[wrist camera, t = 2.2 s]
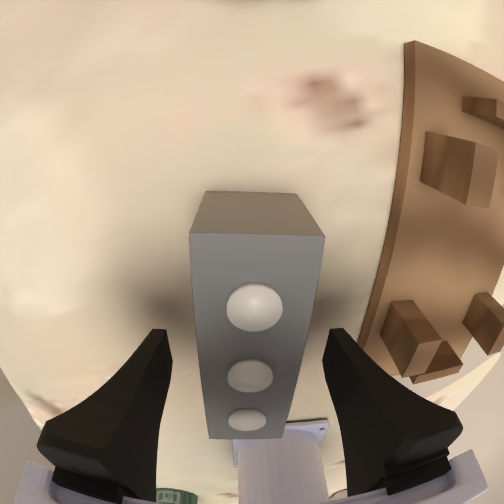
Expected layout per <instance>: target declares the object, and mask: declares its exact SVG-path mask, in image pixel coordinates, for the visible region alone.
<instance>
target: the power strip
mask: <svg viewBox="0 0 504 504" xmlns="http://www.w3.org/2000/svg"><path fill="white" fill-rule="evenodd" d="M189 241H190V261H191V277H192V292H193V305H194V317H195V328H196V338H197V348H198V358H199V367H200V375H201V384H202V392H203V399H204V407H205V414H206V421H207V427H208V434H209V439H278V438H282V436H283V432H284V429H285V425H286V422H287V418H288V414H289V410H290V407H291V403H292V399H293V395H294V391H295V387H296V383H297V379H298V375H299V370H300V366H301V362H302V357H303V353H304V348H305V344H306V339H307V335H308V330H309V325H310V320H311V315H312V310H313V305H314V300H315V295H316V289H317V284H318V278H319V272H320V266H321V260H322V254H323V248H324V242H325V235H324V234H323V232H322V231H321V229H320V228H319V226H318V225H317V223H316V222H315V220H314V219H313V217H312V216H311V214H310V213H309V211H308V210H307V208H306V207H305V206H304V204H303V203H302V201H301V200H300V198H299V197H298V195H297V194H286V193H263V192H229V191H206V193H205V195H204V198H203V200H202V202H201V205H200V207H199V210H198V212H197V215H196V217H195V220H194V222H193V225H192V227H191V230H190V232H189Z"/></svg>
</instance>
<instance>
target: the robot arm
mask: <svg viewBox="0 0 504 504" xmlns="http://www.w3.org/2000/svg"><path fill="white" fill-rule="evenodd" d="M322 362H323V368H324V374H325V379H326V382H327V386H328V389H329V392H330V395H331V398H332V402H333V405H334V408H335V411H336V414H337V417H338V421H339V425H340V431H341V437H342V442H343V450H344V457H345V466H346V478H347V497H346V498H341V499H336V500H330V501H329V496H328V490H327V485H326V480H325V475H324V470H323V465H322V460H321V455H320V450H319V446H320V444H321V442H322V440H323V437H324V435H325V433H326V431H327V429H328V427H329V421H328V420H318V421H308V422H297V423H286V425H285V429H284V432H283V436H282V438H278V439H233V455H234V467H235V468H238V492H239V504H466V503H467V502H469V501H471V500H472V499H474V498H476V497H477V496H479V495H480V494H482V493H483V492H485V491H486V490H488V485H487V482H486V480H485V477H484V475H483V473H482V470H481V468H480V466H479V464H478V461H477V459H476V457H475V454H474V452H473V450H469V451H467V452H465V453H462V454H460V455H458V456H456V457H454V458H453V459H451V460H449V461H448V459H447V456H448V455H449V451H448V447H449V445H451V444H452V443H453V442H454V440H456V438H457V437H458V436H459V435H460V434H461V432H462V430H463V426H462V424H461V422H460V420H459V418H458V416H457V414H456V413H455V412H454V411H451V410H449V409H446V408H444V407H441V406H439V405H436V404H434V403H432V402H430V401H428V400H426V399H424V398H423V397H420V396H419V395H417V394H416V393H414V392H412V391H411V390H409V389H408V388H406V387H405V386H403V385H402V384H401V383H399V382H398V381H397V380H395V379H394V378H393V377H391V376H390V375H389V374H388V373H387V372H385V371H384V370H383V369H382V368H381V367H380V366H379V365H378V364H377V363H376V362H374V361H373V360H372V359H371V358H370V357H369V356H368V355H367V354H366V353H365V351H364V350H363V349H362V348H361V347H360V346H359V345H358V344H357V343H356V342H355V341H354V340H353V339H352V337H351V336H350V335H349V334H348V333H347V332H346V331H345V330H344V329H343V328H336V329H330V331H329V335H328V339H327V343H326V347H325V351H324V355H323V359H322ZM172 363H173V360H172V356H171V351H170V346H169V341H168V336H167V331H166V330H165V329H152V330H151V331H150V333H149V334H148V335H147V337H146V338H145V339H144V341H143V342H142V343H141V344H140V346H139V347H138V348H137V349H136V351H135V352H134V353H133V354H132V356H131V357H130V358H129V359H128V360H127V361H126V363H125V364H124V365H123V366H122V367H121V368H120V369H119V370H118V371H117V372H116V373H115V374H114V375H113V376H112V377H111V378H110V379H109V380H108V381H107V382H106V383H105V384H104V385H103V386H102V387H101V388H99V389H98V390H97V391H96V392H94V393H93V394H92V395H91V396H89V397H88V398H87V399H85V400H84V401H82V402H81V403H79V404H78V405H76V406H75V407H73V408H71V409H70V410H68V411H66V412H64V413H63V414H61V415H58V416H56V417H54V418H52V419H50V420H48V421H46V423H45V425H44V427H43V429H42V432H41V435H40V438H39V440H38V443H37V448H38V450H39V451H40V453H41V454H42V455H43V456H44V457H46V458H47V459H48V460H49V461H50V462H51V463H52V464H53V465H55V466H56V467H55V471H54V472H53V471H52V470H50V469H48V468H46V467H43V466H41V465H39V464H36V463H34V462H32V461H29V460H28V461H27V463H26V466H25V469H24V472H23V475H22V478H21V481H20V484H19V488H18V491H17V495H16V498H15V501H14V503H15V504H163V503H156V464H157V449H158V438H159V428H160V423H161V418H162V414H163V410H164V405H165V401H166V397H167V393H168V389H169V385H170V380H171V372H172Z"/></svg>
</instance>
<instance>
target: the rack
mask: <svg viewBox="0 0 504 504" xmlns="http://www.w3.org/2000/svg"><path fill="white" fill-rule="evenodd" d="M503 265H504V82H503V81H501V80H499V79H498V78H496V77H494V76H492V75H491V74H489V73H487V72H485V71H483V70H481V69H480V68H478V67H476V66H474V65H472V64H470V63H468V62H466V61H464V60H461V59H459V58H457V57H455V56H453V55H450V54H448V53H446V52H444V51H441V50H439V49H436V48H434V47H431V46H429V45H426V44H424V43H421V42H418V41H415V40H414V41H411V42H408V43H405V44H404V102H403V118H402V131H401V142H400V151H399V160H398V168H397V175H396V182H395V189H394V195H393V202H392V207H391V213H390V218H389V224H388V229H387V234H386V239H385V243H384V248H383V252H382V257H381V261H380V265H379V269H378V274H377V278H376V281H375V285H374V289H373V293H372V296H371V300H370V304H369V307H368V311H367V314H366V317H365V321H364V324H363V327H362V330H361V333H360V337H359V340H358V343H357V344H358V345H359V346H360V347H361V348H362V349H363V350H364V351H365V353H366V354H367V355H368V356H369V357H370V358H371V359H372V360H373V361H374V362H376V363H377V364H378V365H379V366H380V367H381V368H382V369H383V370H384V371H385V372H387V373H388V374H389V375H390V376H396V375H401V377H402V378H404V377H410V379H411V381H412V383H413V384H417V383H421V382H425V381H429V380H433V379H437V378H441V377H444V376H448V375H451V374H455V373H458V372H459V370H460V369H461V367H462V365H463V363H462V362H461V360H460V358H461V357H462V355H463V353H464V351H465V349H466V348H467V346H468V344H469V342H470V340H471V338H472V336H473V337H474V339H475V340H476V341H477V342H478V344H479V345H480V346H481V348H482V349H483V350H484V351H485V353H486V354H487V355H490V354H493V353H496V352H499V351H501V349H502V347H503V346H504V308H503V307H502V306H501V305H500V304H499V303H498V302H497V301H496V300H495V299H494V298H493V297H492V294H493V291H494V289H495V286H496V284H497V281H498V279H499V276H500V273H501V271H502V268H503Z"/></svg>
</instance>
